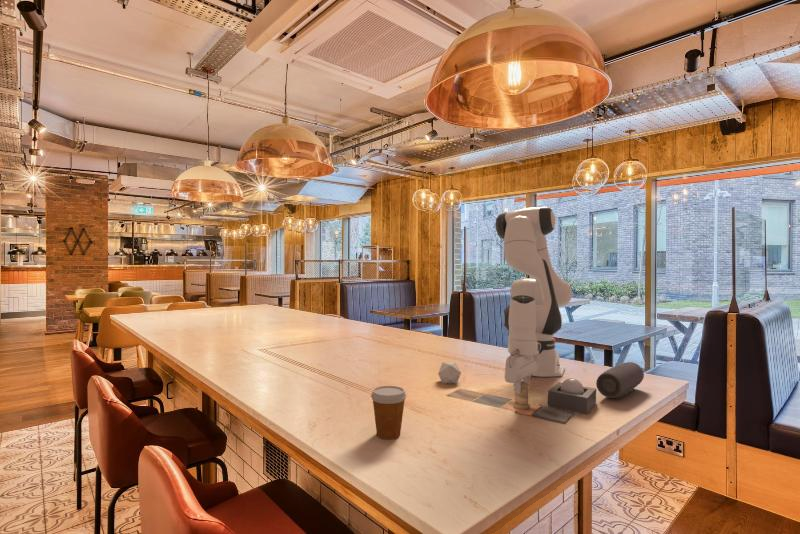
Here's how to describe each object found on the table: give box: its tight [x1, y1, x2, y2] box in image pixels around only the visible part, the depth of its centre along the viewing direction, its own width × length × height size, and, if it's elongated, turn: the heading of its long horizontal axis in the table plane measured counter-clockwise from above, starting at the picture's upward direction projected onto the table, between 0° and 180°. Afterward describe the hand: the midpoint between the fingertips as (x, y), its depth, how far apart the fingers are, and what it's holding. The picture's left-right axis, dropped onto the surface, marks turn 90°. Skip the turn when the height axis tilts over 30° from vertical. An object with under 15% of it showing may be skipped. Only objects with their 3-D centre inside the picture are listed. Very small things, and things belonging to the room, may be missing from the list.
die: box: [437, 361, 462, 385], centre depth 166 cm, size 8×9×10 cm
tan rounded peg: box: [513, 380, 531, 409], centre depth 139 cm, size 5×5×8 cm
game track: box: [445, 388, 575, 425], centre depth 142 cm, size 10×40×1 cm, turn 54°
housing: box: [547, 382, 597, 415], centre depth 143 cm, size 12×12×5 cm
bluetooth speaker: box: [596, 361, 645, 399], centre depth 155 cm, size 23×9×10 cm, turn 135°
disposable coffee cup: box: [370, 385, 407, 440], centre depth 118 cm, size 10×10×12 cm
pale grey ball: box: [560, 377, 584, 395], centre depth 143 cm, size 7×7×7 cm
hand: (521, 390), depth 139 cm, fingers open, 5 cm apart
